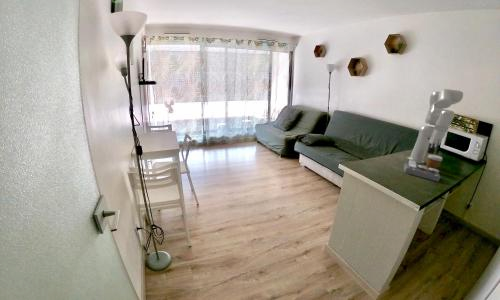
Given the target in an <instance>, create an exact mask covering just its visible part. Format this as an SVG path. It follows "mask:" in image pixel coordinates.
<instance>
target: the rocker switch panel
mask: <svg viewBox="0 0 500 300" xmlns="http://www.w3.org/2000/svg"><path fill="white" fill-rule="evenodd" d="M403 171H404V173H406V174H408V175H412V176H416V177H420V178H423V179H426V180H430V181H434V182H440V180H441V177H442V176H440V173H439V172H435V171H431V170H429V169H423V168H420V167H418V165H416V169H414V168H410V167H409V163H407V162H405V163H404V166H403Z"/></svg>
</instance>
